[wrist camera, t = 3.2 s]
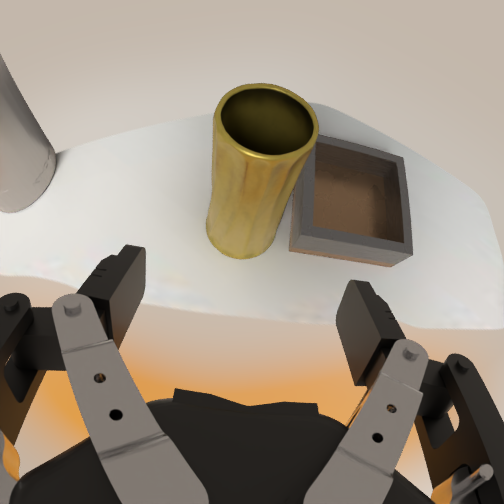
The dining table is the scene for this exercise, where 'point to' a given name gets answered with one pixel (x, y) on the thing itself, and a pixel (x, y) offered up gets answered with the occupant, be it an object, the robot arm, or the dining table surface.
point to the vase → (256, 165)
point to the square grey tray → (352, 205)
